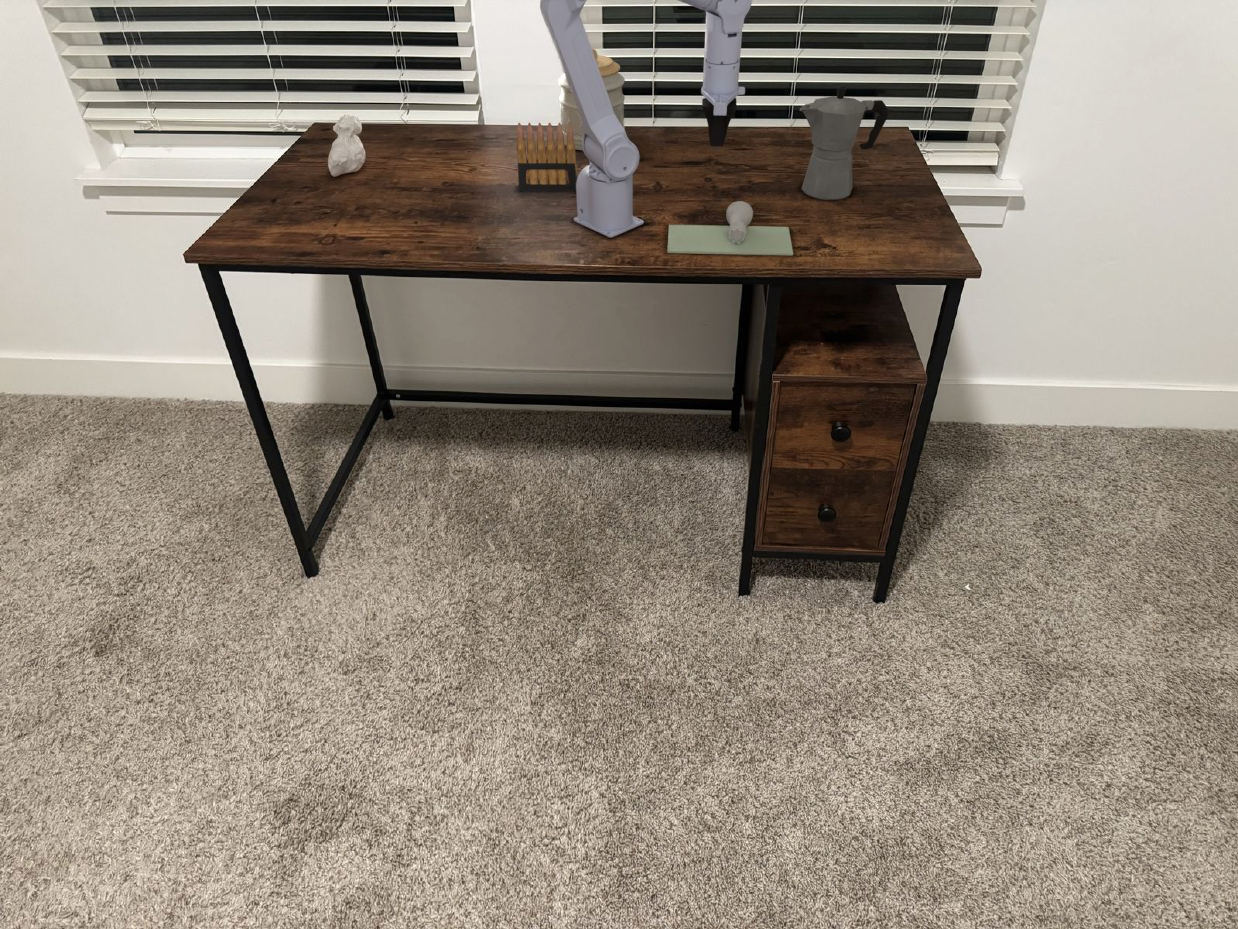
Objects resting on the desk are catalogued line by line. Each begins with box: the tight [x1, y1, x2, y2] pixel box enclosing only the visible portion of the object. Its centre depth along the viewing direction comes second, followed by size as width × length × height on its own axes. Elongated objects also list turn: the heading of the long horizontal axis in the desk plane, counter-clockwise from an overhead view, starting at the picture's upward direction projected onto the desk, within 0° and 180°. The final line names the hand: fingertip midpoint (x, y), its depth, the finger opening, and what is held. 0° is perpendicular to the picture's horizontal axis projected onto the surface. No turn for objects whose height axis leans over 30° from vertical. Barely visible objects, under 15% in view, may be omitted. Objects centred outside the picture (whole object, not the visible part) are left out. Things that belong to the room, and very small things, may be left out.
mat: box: [666, 224, 794, 256], centre depth 145 cm, size 20×10×1 cm, turn 86°
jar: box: [557, 47, 626, 152], centre depth 175 cm, size 13×13×18 cm
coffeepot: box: [799, 85, 890, 201], centre depth 155 cm, size 15×9×18 cm, turn 92°
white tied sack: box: [327, 113, 366, 178], centre depth 167 cm, size 12×8×11 cm
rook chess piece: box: [725, 200, 754, 244], centre depth 145 cm, size 4×4×8 cm
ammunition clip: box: [516, 122, 578, 192], centre depth 159 cm, size 11×2×12 cm, turn 88°
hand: (716, 144), depth 150 cm, fingers closed
